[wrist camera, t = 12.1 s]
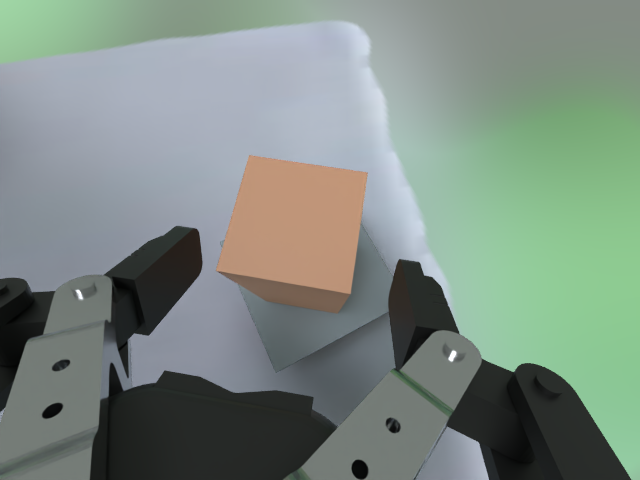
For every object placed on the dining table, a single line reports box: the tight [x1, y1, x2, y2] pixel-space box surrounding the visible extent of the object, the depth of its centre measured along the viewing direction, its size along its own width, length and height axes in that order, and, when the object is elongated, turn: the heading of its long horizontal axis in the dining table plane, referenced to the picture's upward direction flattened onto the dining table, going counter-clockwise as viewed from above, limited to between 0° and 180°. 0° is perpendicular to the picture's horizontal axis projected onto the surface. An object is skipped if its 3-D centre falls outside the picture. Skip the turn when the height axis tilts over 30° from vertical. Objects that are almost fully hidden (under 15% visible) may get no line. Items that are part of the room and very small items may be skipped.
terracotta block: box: [216, 155, 368, 314], centre depth 16 cm, size 5×5×10 cm
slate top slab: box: [220, 224, 393, 373], centre depth 22 cm, size 10×10×3 cm
